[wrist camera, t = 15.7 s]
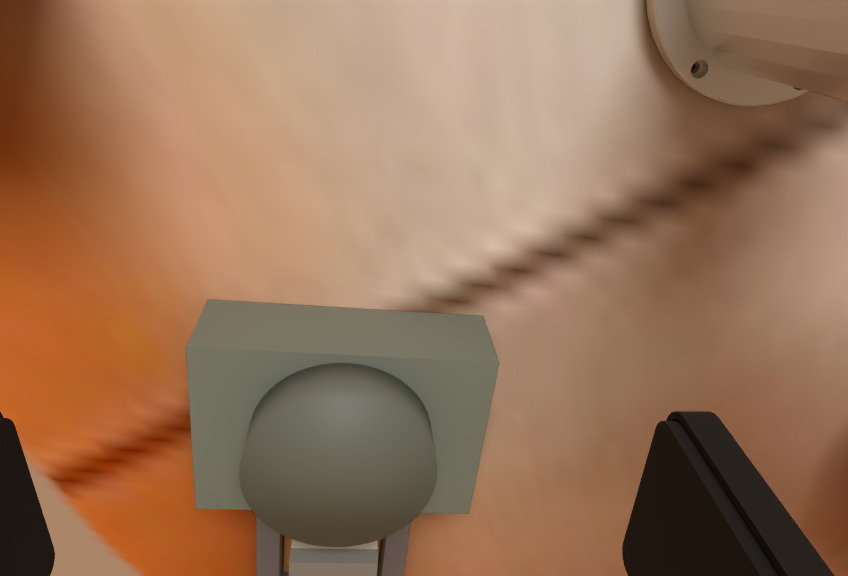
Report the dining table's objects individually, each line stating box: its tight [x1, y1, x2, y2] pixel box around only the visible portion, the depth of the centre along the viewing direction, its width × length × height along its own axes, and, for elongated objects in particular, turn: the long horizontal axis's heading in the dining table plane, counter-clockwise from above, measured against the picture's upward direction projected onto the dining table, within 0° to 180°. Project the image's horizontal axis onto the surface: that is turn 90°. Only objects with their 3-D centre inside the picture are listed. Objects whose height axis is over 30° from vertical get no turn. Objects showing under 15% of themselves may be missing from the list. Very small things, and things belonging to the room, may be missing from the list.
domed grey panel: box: [186, 300, 499, 576], centre depth 38 cm, size 16×24×8 cm
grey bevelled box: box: [289, 539, 378, 576], centre depth 40 cm, size 5×8×7 cm, turn 173°
